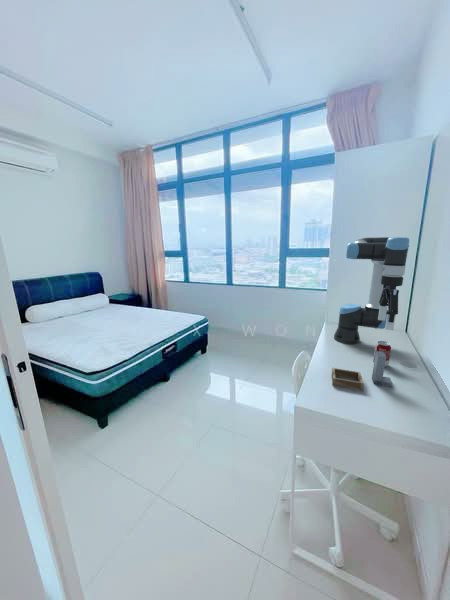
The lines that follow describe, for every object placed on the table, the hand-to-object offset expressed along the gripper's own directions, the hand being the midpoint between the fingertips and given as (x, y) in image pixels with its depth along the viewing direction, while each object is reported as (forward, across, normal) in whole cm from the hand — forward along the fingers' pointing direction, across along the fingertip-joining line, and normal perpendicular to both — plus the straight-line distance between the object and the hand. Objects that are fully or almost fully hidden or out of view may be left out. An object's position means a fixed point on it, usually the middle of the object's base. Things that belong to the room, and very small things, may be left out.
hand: (385, 324), depth 106 cm
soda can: (+27, -20, +6) cm, 34 cm away
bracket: (+27, 0, +2) cm, 28 cm away
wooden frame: (+28, +5, -13) cm, 31 cm away
